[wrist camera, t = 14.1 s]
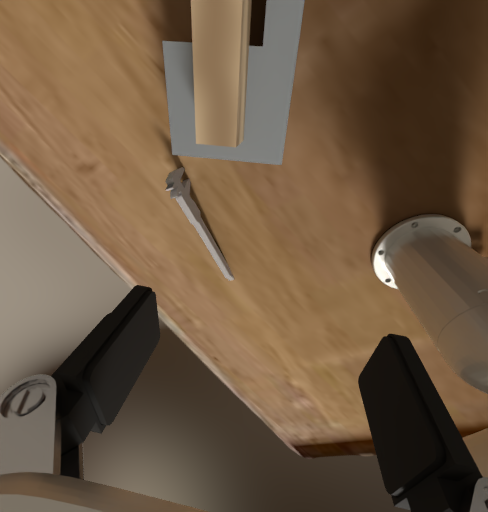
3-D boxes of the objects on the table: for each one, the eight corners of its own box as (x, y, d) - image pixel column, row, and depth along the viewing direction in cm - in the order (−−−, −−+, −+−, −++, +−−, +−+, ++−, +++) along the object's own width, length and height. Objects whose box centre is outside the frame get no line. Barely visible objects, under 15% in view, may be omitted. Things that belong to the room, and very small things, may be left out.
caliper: (177, 168, 34) (159, 179, 29) (184, 165, 34) (166, 176, 29) (229, 279, 44) (222, 302, 38) (235, 278, 43) (228, 301, 38)
